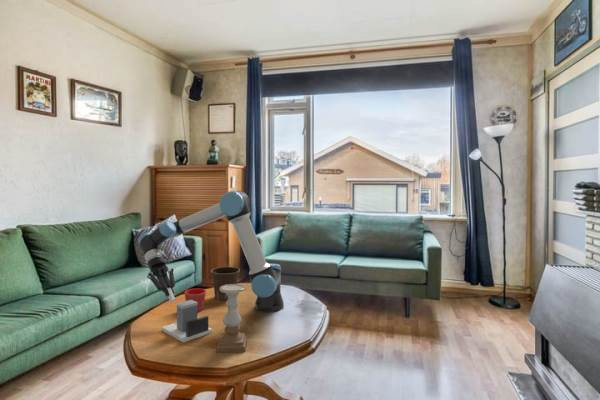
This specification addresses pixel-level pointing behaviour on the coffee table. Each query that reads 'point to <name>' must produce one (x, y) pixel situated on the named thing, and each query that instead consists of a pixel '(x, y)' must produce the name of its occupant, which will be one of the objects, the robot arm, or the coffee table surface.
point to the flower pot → (196, 297)
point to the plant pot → (224, 280)
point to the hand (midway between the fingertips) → (173, 301)
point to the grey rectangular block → (186, 313)
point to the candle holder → (232, 322)
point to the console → (189, 329)
